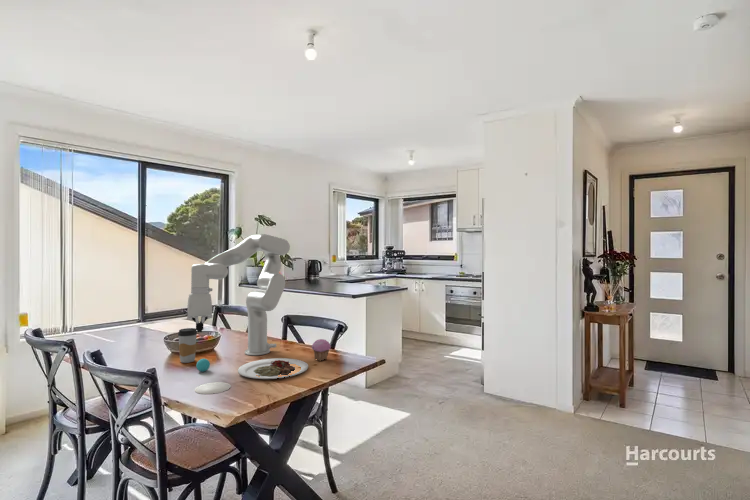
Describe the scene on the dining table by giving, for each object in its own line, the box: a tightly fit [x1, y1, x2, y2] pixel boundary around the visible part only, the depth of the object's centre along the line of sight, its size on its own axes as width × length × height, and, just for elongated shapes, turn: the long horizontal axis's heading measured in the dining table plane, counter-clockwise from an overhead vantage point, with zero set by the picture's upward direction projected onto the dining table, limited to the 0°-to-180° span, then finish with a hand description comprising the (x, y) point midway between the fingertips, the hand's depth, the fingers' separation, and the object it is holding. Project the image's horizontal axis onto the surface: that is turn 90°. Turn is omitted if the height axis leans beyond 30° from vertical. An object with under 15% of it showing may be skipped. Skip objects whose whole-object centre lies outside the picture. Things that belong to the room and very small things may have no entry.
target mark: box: [194, 381, 232, 395], centre depth 161 cm, size 13×13×1 cm
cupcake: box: [311, 338, 331, 361], centre depth 202 cm, size 9×9×10 cm
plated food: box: [237, 357, 309, 380], centre depth 184 cm, size 30×30×3 cm
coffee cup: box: [177, 327, 198, 364], centre depth 199 cm, size 8×8×15 cm
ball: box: [195, 358, 211, 373], centre depth 183 cm, size 6×6×6 cm
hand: (199, 331), depth 190 cm, fingers closed
